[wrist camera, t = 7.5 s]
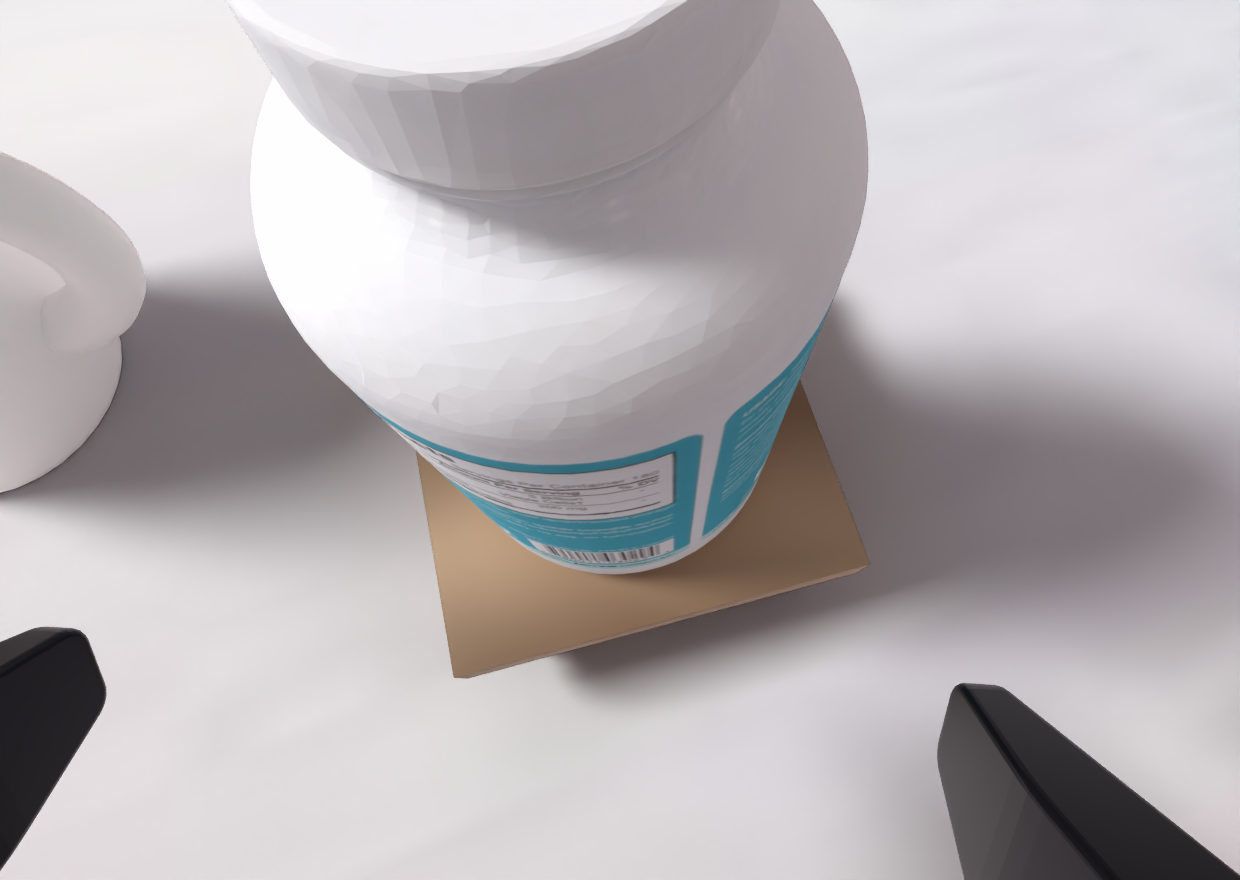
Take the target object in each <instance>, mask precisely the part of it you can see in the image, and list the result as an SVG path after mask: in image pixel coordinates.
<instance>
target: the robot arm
mask: <svg viewBox="0 0 1240 880" xmlns="http://www.w3.org/2000/svg"><path fill="white" fill-rule="evenodd" d="M105 700H106V685H105V682H104V680H103V677H102V674H101V672H100V669H99V666H98V664H97V661H96V658H95V656H94V653H93V651H92V648H91V645H90V643H89V640H88V638H87V637H86V635H85V634H83V633H82V632H81V631H80V630H77V629H73V628H59V627H39V628H34V629H31V630H28V631H26V632H23V633H21V634H19V635H16V636H14V637H11V638H9V639H6V640H4V641H2V642H0V871H1V869H2V868H3V866H4V865H5V864H6V862H7V861H8V859H9V858H10V857H11V855H12V854H13V852H14V851H15V849H16V848H17V846H18V845H19V843H20V841H21V840H22V838H23V837H24V835H25V834H26V832H27V831H28V829H29V828H30V826H31V824H32V823H33V821H34V819H35V818H36V816H37V815H38V813H39V811H40V810H41V808H42V807H43V805H44V803H45V802H46V800H47V799H48V797H49V795H50V794H51V792H52V790H53V789H54V787H55V786H56V784H57V782H58V781H59V779H60V778H61V776H62V774H63V773H64V771H65V770H66V768H67V766H68V765H69V763H70V761H71V760H72V758H73V757H74V755H75V753H76V752H77V750H78V749H79V747H80V745H81V744H82V742H83V741H84V739H85V737H86V736H87V734H88V732H89V731H90V729H91V728H92V726H93V724H94V723H95V721H96V720H97V718H98V716H99V715H100V713H101V711H102V709H103V707H104V704H105ZM937 760H938V768H939V773H940V777H941V782H942V786H943V790H944V794H945V799H946V803H947V807H948V811H949V816H950V820H951V824H952V828H953V833H954V837H955V841H956V845H957V850H958V854H959V858H960V862H961V867H962V871H963V875H964V880H1240V875H1239V874H1238V873H1236V872H1235V871H1234V870H1233V869H1231V868H1230V867H1229V866H1228V865H1226V864H1225V863H1224V862H1223V861H1221V860H1220V859H1219V858H1217V857H1216V856H1215V855H1214V854H1212V853H1211V852H1210V851H1209V850H1207V849H1206V848H1205V847H1204V846H1202V845H1201V844H1200V843H1199V842H1197V841H1196V840H1195V839H1194V838H1192V837H1191V836H1190V835H1189V834H1187V833H1186V832H1185V831H1184V830H1182V829H1181V828H1180V827H1179V826H1177V825H1176V824H1175V823H1174V822H1172V821H1171V820H1170V819H1168V818H1167V817H1166V816H1165V815H1163V814H1162V813H1161V812H1160V811H1158V810H1157V809H1156V808H1155V807H1153V806H1152V805H1151V804H1150V803H1148V802H1147V801H1146V800H1145V799H1143V798H1142V797H1141V796H1140V795H1138V794H1137V793H1136V792H1135V791H1133V790H1132V789H1131V788H1130V787H1128V786H1127V785H1126V784H1125V783H1123V782H1122V781H1121V780H1119V779H1118V778H1117V777H1116V776H1114V775H1113V774H1112V773H1111V772H1109V771H1108V770H1107V769H1106V768H1104V767H1103V766H1102V765H1101V764H1099V763H1098V762H1097V761H1096V760H1094V759H1093V758H1092V757H1091V756H1089V755H1088V754H1087V753H1086V752H1084V751H1083V750H1082V749H1081V748H1079V747H1078V746H1077V745H1076V744H1074V743H1073V742H1072V741H1070V740H1069V739H1068V738H1067V737H1065V736H1064V735H1063V734H1062V733H1060V732H1059V731H1058V730H1057V729H1055V728H1054V727H1053V726H1052V725H1050V724H1049V723H1048V722H1047V721H1045V720H1044V719H1043V718H1042V717H1040V716H1039V715H1038V714H1037V713H1035V712H1034V711H1033V710H1032V709H1030V708H1029V707H1028V706H1027V705H1025V704H1024V703H1023V702H1021V701H1020V700H1019V699H1018V698H1016V697H1015V696H1014V695H1013V694H1011V693H1010V692H1009V691H1007V690H1006V689H1004V688H1002V687H1000V686H996V685H985V684H969V683H962V684H959V685H957V686H955V688H954V689H953V690H952V693H951V695H950V699H949V703H948V707H947V711H946V715H945V719H944V722H943V726H942V730H941V734H940V738H939V742H938V750H937Z"/></svg>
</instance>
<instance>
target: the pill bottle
mask: <svg viewBox="0 0 1240 880" xmlns="http://www.w3.org/2000/svg"><path fill="white" fill-rule="evenodd" d="M225 1H226V3H227V4H228V6H229V8H230V9H231V11H232V12H233V14H234V15H235V17H236V19H237V20H238V22H239V23H240V25H241V27H242V28H243V30H244V31H245V33H246V34H247V36H248V38H249V39H250V41H251V42H252V44H253V46H254V47H255V49H256V50H257V52H258V53H259V55H260V57H261V58H262V60H263V61H264V63H265V64H266V66H267V68H268V69H269V71H270V72H271V74H272V75H273V79H272V81H271V83H270V86H269V89H268V92H267V94H266V97H265V100H264V103H263V106H262V110H261V113H260V116H259V120H258V124H257V129H256V134H255V139H254V143H253V150H252V162H251V181H250V184H251V205H252V212H253V219H254V227H255V233H256V237H257V242H258V246H259V250H260V254H261V258H262V260H263V263H264V266H265V269H266V272H267V275H268V278H269V280H270V282H271V284H272V286H273V288H274V291H275V293H276V295H277V297H278V299H279V301H280V303H281V304H282V306H283V308H284V309H285V311H286V313H287V315H288V316H289V318H290V320H291V321H292V323H293V324H294V326H295V327H296V329H297V330H298V332H299V333H300V335H301V336H302V338H303V339H304V340H305V342H306V343H307V344H308V345H309V347H310V348H311V349H312V350H313V351H314V352H315V353H316V354H317V356H318V357H319V358H320V359H321V360H322V361H323V362H324V364H325V365H326V366H327V367H328V368H329V369H330V370H331V371H332V372H333V373H334V374H335V375H336V376H337V377H339V378H340V379H341V380H342V381H343V382H344V383H345V384H346V385H347V386H348V387H349V388H350V389H351V390H352V391H353V392H354V393H355V394H356V395H357V396H358V397H359V398H360V399H361V400H362V401H363V402H364V403H365V404H366V405H367V406H368V407H369V408H370V409H372V410H373V411H374V412H375V413H376V414H377V415H378V416H379V417H380V418H381V419H382V420H384V421H385V422H386V423H387V424H388V425H389V426H390V427H391V428H392V429H394V430H395V431H396V432H397V433H398V434H399V435H400V436H401V437H402V438H403V439H404V440H405V441H407V442H408V443H409V444H410V445H411V446H412V447H413V448H414V449H415V450H416V451H417V452H418V453H419V454H420V455H421V456H422V457H424V458H425V459H426V460H427V461H428V462H429V463H431V464H432V465H433V466H434V467H435V468H436V469H437V470H438V471H439V472H440V473H441V474H442V475H444V476H445V477H446V478H447V479H448V480H449V481H450V482H451V483H452V484H453V485H454V486H455V487H456V488H457V489H459V490H460V491H461V492H462V493H463V494H464V495H465V496H466V497H467V498H468V499H469V500H470V501H472V502H473V503H474V504H475V505H476V506H477V507H478V508H479V509H480V510H481V511H482V512H483V513H485V514H486V515H487V516H488V517H489V518H490V519H491V520H492V521H493V522H495V523H496V524H497V525H498V526H499V527H500V528H501V529H502V530H503V531H505V532H506V533H507V534H508V535H510V536H511V537H512V538H513V539H514V540H516V541H517V542H518V543H519V544H521V545H522V546H524V547H525V548H526V549H528V550H530V551H531V552H533V553H535V554H536V555H538V556H540V557H542V558H544V559H546V560H548V561H551V562H553V563H555V564H558V565H561V566H564V567H567V568H570V569H574V570H578V571H583V572H590V573H596V574H628V573H636V572H642V571H646V570H651V569H655V568H658V567H662V566H665V565H668V564H670V563H673V562H676V561H678V560H680V559H682V558H683V557H685V556H687V555H689V554H691V553H693V552H695V551H696V550H698V549H699V548H701V547H702V546H704V545H705V544H707V543H708V542H709V541H711V540H712V539H713V538H715V537H716V536H717V535H718V534H719V533H720V532H721V531H722V530H723V529H724V528H725V527H726V526H727V525H728V524H729V523H730V522H731V521H732V520H733V519H734V518H735V517H736V515H737V514H738V513H739V511H740V510H741V509H742V507H743V506H744V504H745V503H746V501H747V500H748V498H749V497H750V495H751V493H752V491H753V489H754V487H755V485H756V483H757V480H758V478H759V476H760V474H761V471H762V469H763V467H764V465H765V462H766V460H767V457H768V455H769V452H770V450H771V447H772V445H773V442H774V440H775V437H776V435H777V432H778V430H779V427H780V425H781V422H782V420H783V417H784V415H785V412H786V410H787V408H788V405H789V403H790V401H791V398H792V396H793V393H794V391H795V389H796V386H797V384H798V382H799V379H800V377H801V374H802V372H803V370H804V367H805V365H806V363H807V360H808V358H809V355H810V353H811V351H812V348H813V346H814V344H815V341H816V339H817V337H818V334H819V332H820V329H821V327H822V325H823V322H824V320H825V318H826V315H827V313H828V311H829V308H830V306H831V304H832V301H833V299H834V296H835V294H836V292H837V289H838V287H839V284H840V281H841V278H842V276H843V273H844V271H845V268H846V266H847V263H848V261H849V259H850V256H851V254H852V251H853V247H854V244H855V241H856V237H857V234H858V231H859V227H860V224H861V219H862V214H863V210H864V205H865V200H866V193H867V181H868V142H867V130H866V122H865V115H864V111H863V107H862V102H861V98H860V94H859V89H858V86H857V84H856V81H855V78H854V75H853V72H852V69H851V66H850V64H849V61H848V59H847V57H846V55H845V53H844V50H843V48H842V46H841V44H840V42H839V40H838V38H837V36H836V35H835V33H834V31H833V29H832V28H831V26H830V25H829V23H828V21H827V20H826V18H825V17H824V15H823V13H822V12H821V11H820V9H819V8H818V7H817V5H816V4H815V3H814V2H813V0H225Z"/></svg>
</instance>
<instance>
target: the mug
mask: <svg viewBox="0 0 1240 880" xmlns="http://www.w3.org/2000/svg"><path fill="white" fill-rule="evenodd" d="M145 295H146V279H145V275H144V271H143V267H142V264H141V260H140V257H139V254H138V252H137V250H136V248H135V246H134V244H133V242H132V241H131V240H130V238H129V237H128V236H127V234H126V233H125V232H124V231H123V229H122V228H121V227H120V226H119V225H118V224H117V223H116V222H115V221H114V220H113V219H112V218H111V217H110V216H109V215H108V214H106V213H105V212H104V211H102V210H101V209H100V208H99V207H97V206H96V205H95V204H93V203H92V202H91V201H90V200H88V199H87V198H85V197H84V196H83V195H81V194H80V193H79V192H77V191H76V190H74V189H73V188H71V187H69V186H68V185H66V184H65V183H63V182H62V181H60V180H58V179H57V178H55V177H53V176H51V175H49V174H47V173H45V172H44V171H42V170H40V169H38V168H36V167H34V166H32V165H30V164H27V163H25V162H23V161H21V160H19V159H16V158H14V157H12V156H10V155H7V154H5V153H2V152H0V493H2V492H5V491H9V490H12V489H16V488H18V487H21V486H23V485H25V484H27V483H29V482H31V481H33V480H36V479H38V478H40V477H42V476H43V475H45V474H46V473H48V472H49V471H51V470H52V469H54V468H55V467H57V466H58V465H60V464H61V463H63V462H64V461H65V460H66V459H67V458H68V457H69V456H70V455H72V454H73V453H74V452H75V451H76V450H77V449H78V448H79V447H80V446H82V444H83V443H84V442H85V441H86V440H87V438H88V437H89V436H90V435H91V434H92V432H93V431H94V430H95V429H96V427H97V426H98V425H99V423H100V421H101V420H102V418H103V416H104V415H105V413H106V411H107V410H108V408H109V406H110V404H111V402H112V399H113V396H114V394H115V391H116V389H117V386H118V383H119V377H120V372H121V366H122V350H121V341H120V337H119V336H120V335H122V334H123V333H124V332H125V331H126V330H127V329H128V328H129V327H130V326H131V325H132V324H133V322H134V321H135V319H136V318H137V316H138V313H139V311H140V309H141V306H142V304H143V301H144V298H145Z"/></svg>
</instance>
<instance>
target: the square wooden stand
mask: <svg viewBox="0 0 1240 880" xmlns="http://www.w3.org/2000/svg"><path fill="white" fill-rule="evenodd" d="M416 454H417V460H418V466H419V472H420V478H421V484H422V490H423V496H424V502H425V508H426V514H427V520H428V526H429V532H430V538H431V544H432V550H433V556H434V562H435V568H436V574H437V580H438V586H439V592H440V598H441V604H442V610H443V616H444V622H445V628H446V634H447V640H448V646H449V652H450V658H451V664H452V670H453V676H454V677H455V678H467V679H468V678H471V677H475V676H479V675H482V674H486V673H490V672H493V671H497V670H501V669H504V668H508V667H512V666H515V665H519V664H523V663H526V662H530V661H534V660H537V659H541V658H545V657H548V656H552V655H556V654H559V653H563V652H567V651H571V650H574V649H578V648H582V647H585V646H589V645H593V644H596V643H600V642H604V641H607V640H611V639H615V638H618V637H622V636H626V635H629V634H633V633H637V632H640V631H644V630H648V629H651V628H655V627H659V626H662V625H666V624H670V623H673V622H677V621H681V620H685V619H688V618H692V617H696V616H699V615H703V614H707V613H710V612H714V611H718V610H721V609H725V608H729V607H732V606H736V605H740V604H743V603H747V602H751V601H754V600H758V599H762V598H765V597H769V596H773V595H776V594H780V593H784V592H787V591H791V590H795V589H799V588H802V587H806V586H810V585H813V584H817V583H821V582H824V581H828V580H832V579H835V578H839V577H843V576H846V575H850V574H854V573H857V572H859V571H860V570H862V569H864V568H865V567H867V566H868V565H870V562H869V560H868V557H867V554H866V552H865V549H864V546H863V544H862V541H861V539H860V536H859V533H858V531H857V528H856V526H855V523H854V520H853V518H852V515H851V512H850V510H849V507H848V505H847V502H846V499H845V497H844V494H843V491H842V489H841V486H840V484H839V481H838V478H837V476H836V473H835V471H834V468H833V465H832V463H831V460H830V457H829V455H828V452H827V450H826V447H825V444H824V442H823V439H822V437H821V434H820V431H819V429H818V426H817V423H816V421H815V418H814V416H813V413H812V410H811V408H810V405H809V403H808V400H807V397H806V395H805V392H804V389H803V387H802V384H801V382H800V379H799V382H798V384H797V386H796V389H795V391H794V393H793V396H792V398H791V401H790V403H789V405H788V408H787V410H786V412H785V415H784V417H783V420H782V422H781V425H780V427H779V430H778V432H777V435H776V437H775V440H774V442H773V445H772V447H771V450H770V452H769V455H768V457H767V460H766V462H765V465H764V467H763V469H762V471H761V474H760V476H759V478H758V480H757V483H756V485H755V487H754V489H753V491H752V493H751V495H750V497H749V498H748V500H747V501H746V503H745V504H744V506H743V507H742V509H741V510H740V511H739V513H738V514H737V515H736V517H735V518H734V519H733V520H732V521H731V522H730V523H729V524H728V525H727V526H726V527H725V528H724V529H723V530H722V531H721V532H720V533H719V534H718V535H717V536H716V537H715V538H713V539H712V540H711V541H709V542H708V543H707V544H705V545H704V546H702V547H701V548H699V549H698V550H696V551H695V552H693V553H691V554H689V555H687V556H685V557H683V558H682V559H680V560H678V561H676V562H673V563H670V564H668V565H665V566H662V567H658V568H655V569H651V570H646V571H642V572H636V573H628V574H596V573H590V572H583V571H578V570H574V569H570V568H567V567H564V566H561V565H558V564H555V563H553V562H551V561H548V560H546V559H544V558H542V557H540V556H538V555H536V554H535V553H533V552H531V551H530V550H528V549H526V548H525V547H524V546H522V545H521V544H519V543H518V542H517V541H516V540H514V539H513V538H512V537H511V536H510V535H508V534H507V533H506V532H505V531H503V530H502V529H501V528H500V527H499V526H498V525H497V524H496V523H495V522H493V521H492V520H491V519H490V518H489V517H488V516H487V515H486V514H485V513H483V512H482V511H481V510H480V509H479V508H478V507H477V506H476V505H475V504H474V503H473V502H472V501H470V500H469V499H468V498H467V497H466V496H465V495H464V494H463V493H462V492H461V491H460V490H459V489H457V488H456V487H455V486H454V485H453V484H452V483H451V482H450V481H449V480H448V479H447V478H446V477H445V476H444V475H442V474H441V473H440V472H439V471H438V470H437V469H436V468H435V467H434V466H433V465H432V464H431V463H429V462H428V461H427V460H426V459H425V458H424V457H422V456H421V455H420V454H419V453H418V452H417V451H416Z"/></svg>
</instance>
